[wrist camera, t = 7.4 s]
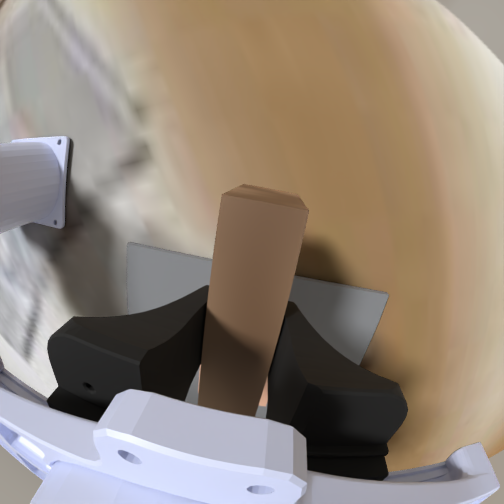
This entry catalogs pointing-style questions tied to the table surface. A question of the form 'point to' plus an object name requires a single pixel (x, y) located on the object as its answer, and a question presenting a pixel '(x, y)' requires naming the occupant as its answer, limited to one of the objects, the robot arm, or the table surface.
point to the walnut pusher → (248, 294)
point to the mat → (302, 294)
